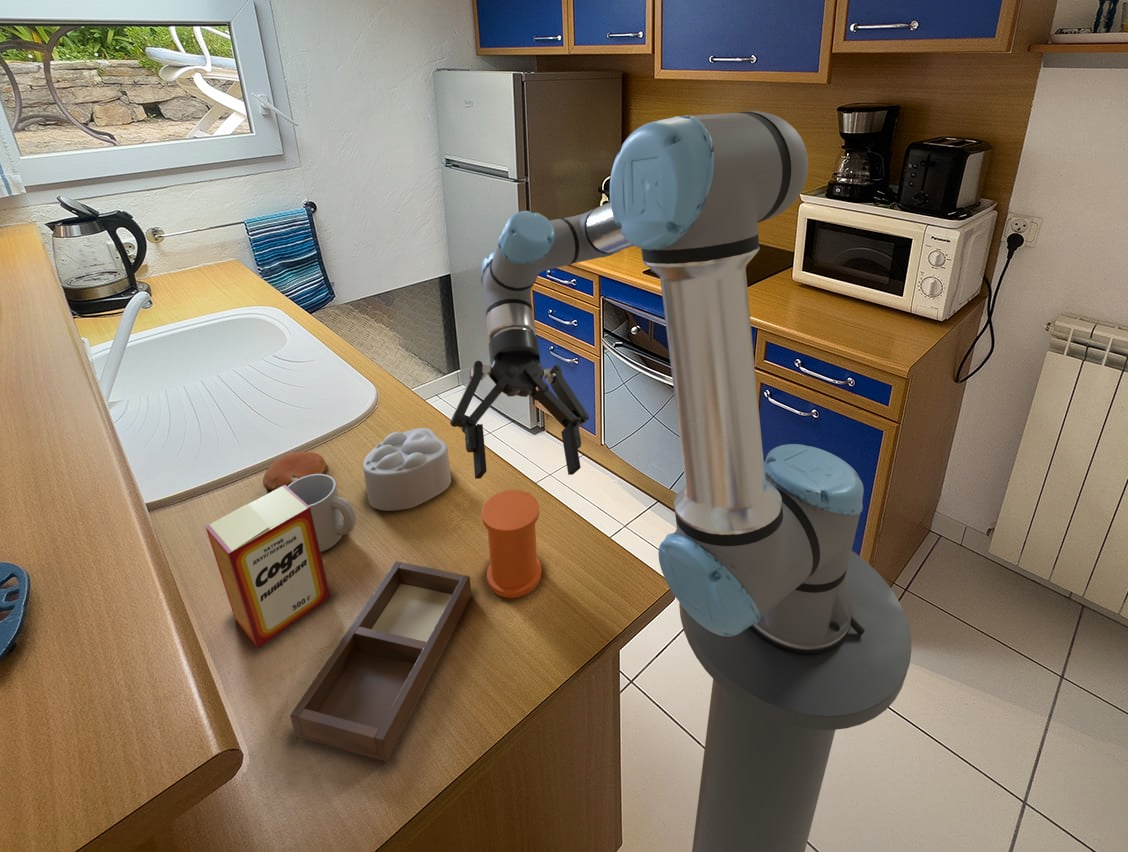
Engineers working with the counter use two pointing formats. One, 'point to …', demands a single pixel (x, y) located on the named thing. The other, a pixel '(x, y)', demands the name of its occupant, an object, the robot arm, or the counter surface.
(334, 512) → the cup
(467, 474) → the counter surface
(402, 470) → the lumpy-topped squat cylinder
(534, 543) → the spool
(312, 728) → the divided tray
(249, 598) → the baking soda box
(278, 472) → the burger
